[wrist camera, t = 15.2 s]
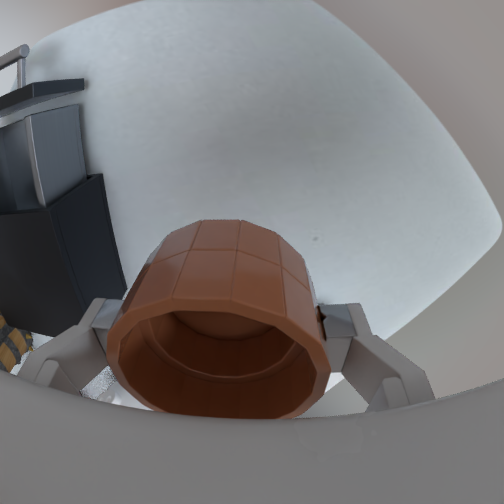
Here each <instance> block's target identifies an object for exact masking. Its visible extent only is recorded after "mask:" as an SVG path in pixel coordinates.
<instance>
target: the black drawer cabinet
mask: <svg viewBox="0 0 504 504" xmlns="http://www.w3.org/2000/svg"><path fill="white" fill-rule="evenodd" d="M86 176H87V181H85V182H84V183H82V184H81V185H79V186H78V187H76V188H75V189H73V190H72V191H71V192H69V193H68V194H66V195H65V196H63V197H62V198H61V199H59V200H58V201H57V202H55V203H54V204H52V205H51V206H50V207H49V208H38V209H27V210H16V211H6V212H0V312H1V314H2V316H3V317H4V319H5V321H6V323H7V325H8V326H10V327H13V328H17V329H21V330H25V331H29V332H33V333H38V334H42V335H46V336H51V337H56V336H58V335H59V334H61V333H63V332H64V331H66V330H67V329H69V328H71V327H72V326H74V325H77V326H78V324H79V322H80V321H81V319H82V317H83V316H84V314H85V313H86V311H87V309H88V308H89V306H90V305H91V303H92V301H93V300H94V299H95V298H97V297H98V298H107V299H108V298H110V299H120V300H122V298H123V296H124V294H125V292H126V290H127V286H126V282H125V279H124V275H123V271H122V267H121V263H120V259H119V255H118V251H117V247H116V242H115V238H114V233H113V229H112V224H111V219H110V214H109V209H108V204H107V198H106V192H105V186H104V180H103V174H92V175H86Z"/></svg>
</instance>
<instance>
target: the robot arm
mask: <svg viewBox="0 0 504 504" xmlns="http://www.w3.org/2000/svg"><path fill="white" fill-rule="evenodd" d="M123 302H124V300H120V299H110V298H108V299H107V298H98V297H97V298H95V299H94V300H93V301H92V303H91V305H90V306H89V308H88V309H87V311H86V313H85V314H84V316H83V317H82V319H81V321H80V322H79V324H78V326H77V325H74V326H72V327H71V328H69V329H67V330H66V331H64V332H63V333H61V334H59V335H58V336H56V337H55V338H53V339H51V340H50V341H48V342H47V343H45V344H43V345H42V346H40V347H39V348H37V349H36V350H34V351H33V352H31V353H30V354H29V356H28V357H27V359H26V360H25V362H24V364H23V366H22V367H21V369H20V371H19V372H18V374H17V376H16V375H13V374H11V373H8V372H6V371H3V370H1V369H0V504H504V378H503V379H500V380H498V381H495V382H492V383H489V384H486V385H483V386H480V387H477V388H474V389H470V390H467V391H464V392H460V393H457V394H453V395H450V396H446V397H442V398H438V399H435V396H434V394H433V391H432V388H431V386H430V384H429V381H428V379H427V376H426V374H425V372H424V371H423V370H422V369H421V368H420V367H418V366H417V365H415V364H414V363H413V362H412V361H410V360H409V359H408V358H406V357H405V356H404V355H402V354H401V353H400V352H398V351H397V350H396V349H394V348H393V347H392V346H390V345H389V344H388V343H386V342H385V341H384V340H382V339H381V338H380V337H378V336H377V335H372V332H371V329H370V327H369V324H368V321H367V319H366V316H365V314H364V311H363V309H362V306H361V304H360V303H349V304H331V305H318V308H319V312H320V316H321V321H322V326H323V331H324V336H325V340H326V344H327V349H328V354H329V359H330V364H331V373H339V372H341V374H342V375H343V376H344V377H345V378H346V379H347V380H348V382H349V383H350V384H351V385H352V386H353V387H354V388H355V389H356V391H357V392H358V393H359V394H360V395H361V396H362V397H363V398H364V399H365V400H366V401H367V403H368V404H369V406H368V408H367V410H366V411H365V412H364V413H356V414H348V415H338V416H328V417H315V418H295V419H234V418H215V417H202V416H191V415H181V414H173V413H165V412H158V411H151V410H145V409H139V408H133V407H128V406H122V405H117V404H112V403H108V402H103V401H99V400H95V399H90V398H86V397H82V396H81V395H80V394H79V391H80V390H82V389H83V388H84V387H85V386H86V385H87V384H88V383H89V382H90V381H91V380H92V379H93V378H95V377H96V376H97V375H98V374H99V373H100V372H101V371H102V370H103V369H104V368H105V367H107V366H108V365H109V364H108V362H107V360H106V348H107V333H108V331H109V329H110V327H111V325H112V323H113V321H114V319H115V317H116V315H117V313H118V311H119V310H120V308H121V306H122V304H123Z"/></svg>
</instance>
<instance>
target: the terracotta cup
mask: <svg viewBox="0 0 504 504" xmlns="http://www.w3.org/2000/svg"><path fill="white" fill-rule="evenodd" d="M106 360H107V362H108V364H109V366H110V368H111V370H112V372H113V374H114V375H115V377H116V379H117V381H118V383H119V384H120V385H121V386H122V387H123V388H124V389H125V390H126V391H127V392H128V393H130V394H131V395H132V396H133V397H134V398H135V399H136V400H138V401H139V402H140V403H141V404H142V405H144V406H146V407H148V408H149V409H151V410H153V411H158V412H165V413H173V414H181V415H191V416H202V417H215V418H234V419H292V418H294V417H297V416H299V415H301V414H302V413H304V412H305V411H307V410H308V409H309V408H310V407H311V406H312V405H313V404H314V403H315V402H317V401H318V400H319V399H320V398H321V397H322V396H323V395H324V393H325V390H326V386H327V383H328V380H329V377H330V374H331V364H330V359H329V354H328V349H327V344H326V340H325V336H324V331H323V326H322V321H321V316H320V312H319V308H318V303H317V298H316V294H315V290H314V285H313V282H312V279H311V276H310V274H309V271H308V268H307V266H306V263H305V261H304V259H303V258H302V256H301V255H300V254H299V253H298V252H297V251H296V250H295V249H294V248H293V247H292V246H291V245H290V244H289V243H287V242H286V241H285V240H284V239H283V238H282V237H281V236H280V235H278V234H277V233H276V232H274V231H271V230H268V229H266V228H263V227H260V226H258V225H255V224H252V223H250V222H247V221H244V220H241V221H240V220H203V221H202V220H199V221H197V222H194V223H192V224H190V225H187V226H185V227H182V228H180V229H178V230H175V231H173V232H171V233H170V234H169V235H167V236H166V237H165V238H164V239H163V241H162V242H161V243H160V244H159V245H158V246H157V247H156V248H155V250H154V251H153V252H152V253H151V254H150V256H149V257H148V259H147V261H146V263H145V264H144V266H143V268H142V270H141V271H140V273H139V275H138V277H137V278H136V280H135V282H134V284H133V286H132V288H131V289H130V291H129V293H128V295H127V296H126V298H125V300H124V302H123V304H122V306H121V308H120V310H119V311H118V313H117V315H116V317H115V319H114V321H113V323H112V325H111V327H110V329H109V331H108V333H107V348H106Z"/></svg>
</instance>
